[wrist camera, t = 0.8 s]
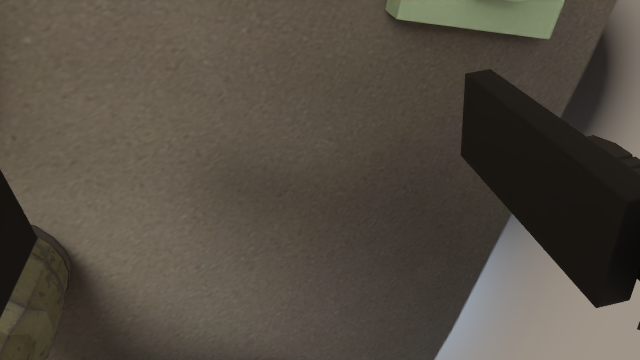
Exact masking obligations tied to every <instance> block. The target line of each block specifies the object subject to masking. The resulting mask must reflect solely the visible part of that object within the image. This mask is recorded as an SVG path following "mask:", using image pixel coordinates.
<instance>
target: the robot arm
mask: <svg viewBox="0 0 640 360" xmlns="http://www.w3.org/2000/svg"><path fill="white" fill-rule="evenodd" d="M461 156H462V157H463V158H464V159H465V161H466V162H467V163H468V164H469V165H470V166H471V167H472V168H473V170H474V171H475V172H476V173H477V174H478V175H479V176H480V177H481V179H482V180H483V181H484V182H485V183H486V184H487V185H488V187H489V188H490V189H491V190H492V191H493V192H494V193H495V194H496V196H497V197H498V198H499V199H500V200H501V201H502V202H503V203H504V205H505V206H506V207H507V208H508V209H509V210H510V211H511V213H512V214H513V215H514V216H515V217H516V218H517V219H518V220H519V222H520V223H521V224H522V225H523V226H524V227H525V228H526V229H527V231H528V232H529V233H530V234H531V235H532V236H533V237H534V238H535V240H536V241H537V242H538V243H539V244H540V245H541V246H542V247H543V249H544V250H545V251H546V252H547V253H548V254H549V255H550V257H551V258H552V259H553V260H554V261H555V262H556V263H557V264H558V266H559V267H560V268H561V269H562V270H563V271H564V272H565V274H566V275H567V276H568V277H569V278H570V279H571V280H572V281H573V283H574V284H575V285H576V286H577V287H578V288H579V289H580V291H581V292H582V293H583V294H584V295H585V296H586V297H587V298H588V300H589V301H590V302H591V303H592V304H593V305H594V306H595V307H596V308H599V307H603V306H607V305H611V304H616V303H620V302H624V301H628V300H630V298H631V295H632V292H633V288H634V286H635V283H636V280H637V279H638V280H639V281H640V159H638V158H637V157H632V154H631V153H629V152H628V151H626V150H625V149H623V148H622V147H620V146H619V145H617V144H616V143H613V142H611V141H608V140H605V139H602V138H600V137H597V136H594V135H592V136H587V137H586V136H584V135H583V134H581V133H580V132H579V131H577V130H576V129H574V128H573V127H571V126H570V125H569V124H567V123H566V122H565V121H563V120H562V119H560V118H559V117H557V116H556V115H555V114H553V113H552V112H550V111H549V110H548V109H546V108H545V107H543V106H542V105H540V104H539V103H538V102H536V101H535V100H533V99H532V98H531V97H529V96H528V95H526V94H525V93H523V92H522V91H521V90H519V89H518V88H516V87H515V86H513V85H512V84H511V83H509V82H508V81H506V80H505V79H504V78H502V77H501V76H499V75H498V74H496V73H495V72H494V71H492V70H491V69H489V70H483V71H477V72H472V73H466V74H465V91H464V108H463V125H462V143H461ZM37 239H38V237H37V235H36V234H35V232H34V230H33V228H32V226H31V224H30V223H29V221H28V219H27V217H26V215H25V214H24V212H23V210H22V208H21V206H20V204H19V203H18V201H17V199H16V197H15V195H14V193H13V192H12V190H11V188H10V186H9V184H8V182H7V181H6V179H5V177H4V175H3V173H2V172H1V170H0V318H1V316H2V314H3V312H4V310H5V307H6V305H7V303H8V301H9V299H10V297H11V295H12V292H13V290H14V288H15V286H16V284H17V282H18V280H19V277H20V275H21V273H22V271H23V269H24V267H25V265H26V262H27V260H28V258H29V256H30V254H31V252H32V250H33V248H34V245H35V243H36V241H37ZM637 329H638V330H640V322H639V325H638V328H637Z"/></svg>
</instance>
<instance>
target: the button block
mask: <svg viewBox="0 0 640 360" xmlns="http://www.w3.org/2000/svg"><path fill="white" fill-rule="evenodd" d="M564 1H565V0H387V4H386V8H385V10H386V11H387V12H388V13H389V14H391V15H392V16H393V17H395V18H396V19H398V20H405V21H413V22H421V23H428V24H436V25H443V26H451V27H458V28H466V29H473V30H481V31H489V32H496V33H504V34H511V35H519V36H526V37H534V38H542V39H550V37H551V34H552V31H553V29H554V26H555V24H556V21H557V19H558V16H559V14H560V11H561V9H562V6H563V4H564Z"/></svg>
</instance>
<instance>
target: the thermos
mask: <svg viewBox="0 0 640 360" xmlns="http://www.w3.org/2000/svg"><path fill="white" fill-rule="evenodd" d="M31 226H32V225H31ZM32 228H33V230H34V232H35V234H36V235H37V237H38V239H37V241H36V243H35V245H34V248H33V250H32V252H31V254H30V256H29V258H28V260H27V262H26V265H25V267H24V269H23V271H22V273H21V275H20V277H19V280H18V282H17V284H16V286H15V288H14V290H13V292H12V295H11V297H10V299H9V301H8V303H7V305H6V307H5V310H4V312H3V314H2V316H1V318H0V360H46V359H47V357H48V355H49V352H50V349H51V346H52V343H53V340H54V337H55V334H56V331H57V328H58V325H59V322H60V319H61V316H62V313H63V310H64V300H65V292H66V291H67V289H68V287H69V284H70V281H71V268H72V267H71V264H70V261H69V259H68V256H67V253H66V251H65V250H64V249H63V248H62V247H61V246H60V245H59V243H58V242H57V241H56V240H55V239H54V238H53V237H51V236H50V235H48V234H46V233H45V232H43V231H42V230H40V229H39V228H37V227H35V226H32Z"/></svg>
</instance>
